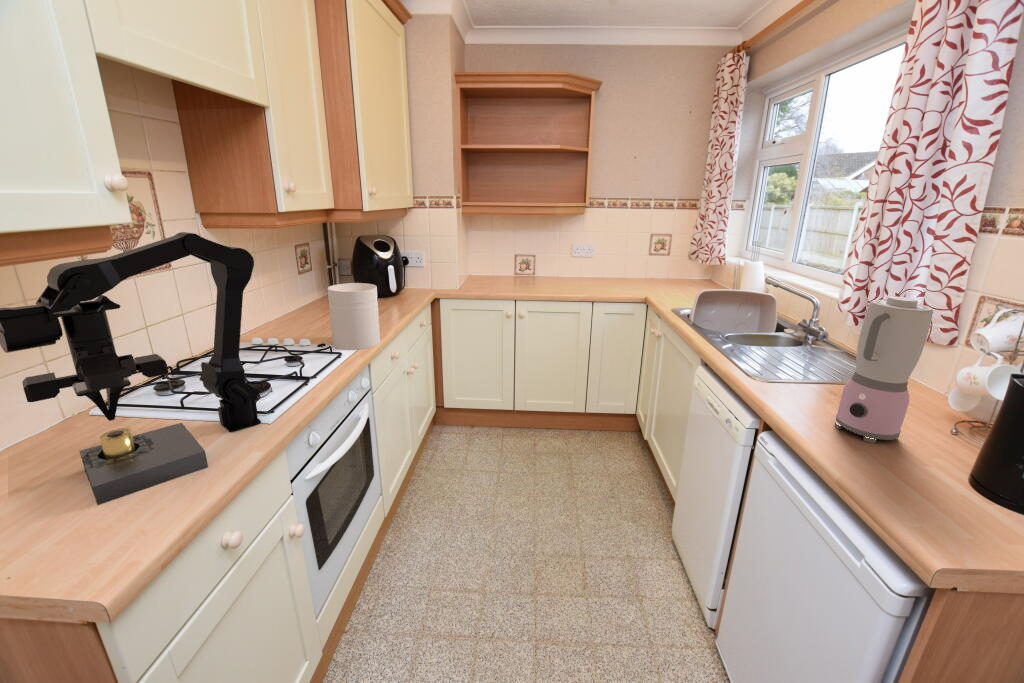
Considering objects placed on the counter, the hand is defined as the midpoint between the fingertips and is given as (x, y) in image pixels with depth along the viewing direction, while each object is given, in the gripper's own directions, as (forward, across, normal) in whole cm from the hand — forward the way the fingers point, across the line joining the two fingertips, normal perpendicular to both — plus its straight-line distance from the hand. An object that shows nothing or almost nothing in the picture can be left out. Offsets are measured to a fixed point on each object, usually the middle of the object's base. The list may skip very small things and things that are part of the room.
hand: (111, 419), depth 84 cm
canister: (+10, +71, +41) cm, 83 cm away
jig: (+10, +3, -3) cm, 11 cm away
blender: (+10, +120, -100) cm, 157 cm away
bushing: (+10, 0, 0) cm, 10 cm away
